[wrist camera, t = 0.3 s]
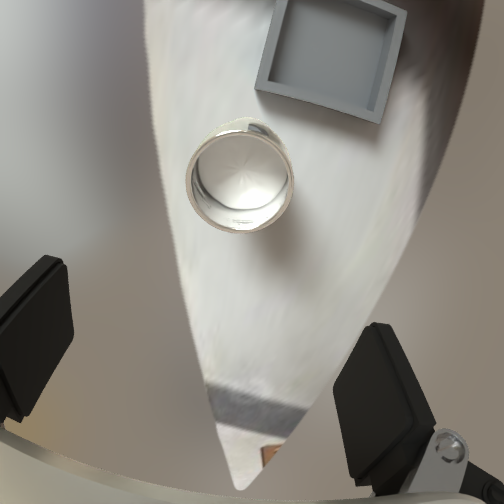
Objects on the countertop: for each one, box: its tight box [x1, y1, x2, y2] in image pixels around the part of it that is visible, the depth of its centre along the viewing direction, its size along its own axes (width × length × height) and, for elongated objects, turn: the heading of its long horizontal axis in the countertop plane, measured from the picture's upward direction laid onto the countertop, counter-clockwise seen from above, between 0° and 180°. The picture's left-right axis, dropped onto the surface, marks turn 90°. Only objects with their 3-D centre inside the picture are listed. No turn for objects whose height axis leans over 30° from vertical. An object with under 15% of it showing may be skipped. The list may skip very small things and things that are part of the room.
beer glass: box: [186, 117, 294, 233], centre depth 26 cm, size 7×7×15 cm
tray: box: [254, 0, 407, 125], centre depth 26 cm, size 13×12×3 cm
